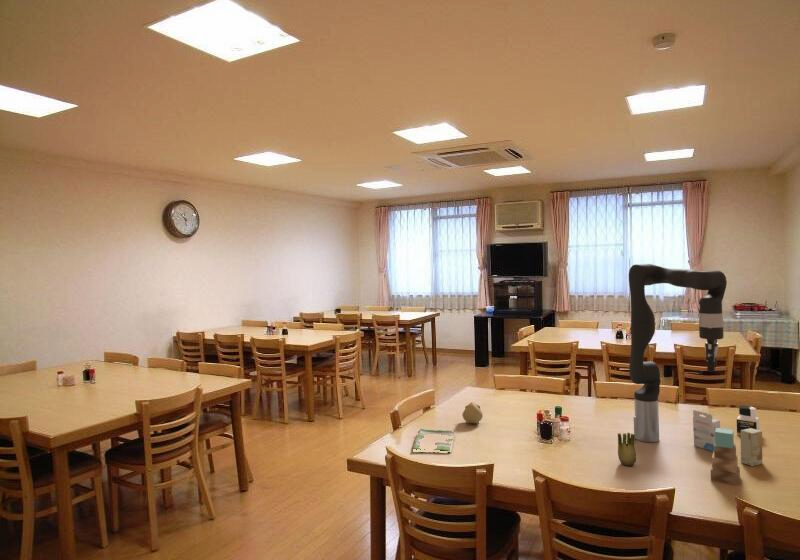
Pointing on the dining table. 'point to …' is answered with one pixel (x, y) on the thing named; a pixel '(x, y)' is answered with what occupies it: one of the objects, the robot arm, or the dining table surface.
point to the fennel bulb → (626, 449)
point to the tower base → (725, 476)
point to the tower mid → (724, 464)
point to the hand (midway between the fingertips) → (712, 369)
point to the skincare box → (751, 446)
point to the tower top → (725, 453)
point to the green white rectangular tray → (440, 445)
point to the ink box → (704, 430)
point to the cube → (724, 438)
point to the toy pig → (472, 413)
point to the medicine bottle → (747, 419)
